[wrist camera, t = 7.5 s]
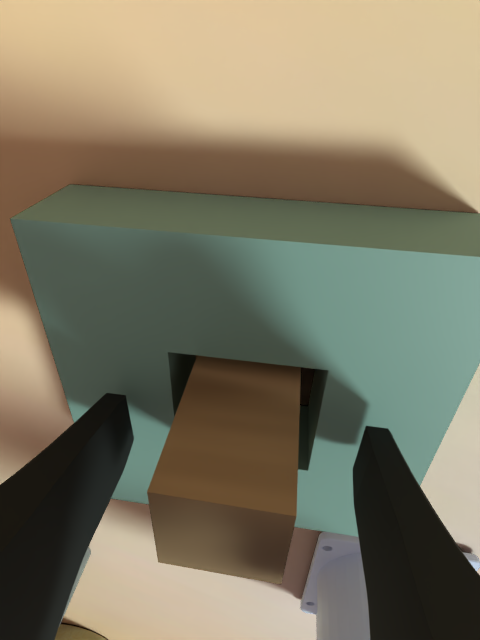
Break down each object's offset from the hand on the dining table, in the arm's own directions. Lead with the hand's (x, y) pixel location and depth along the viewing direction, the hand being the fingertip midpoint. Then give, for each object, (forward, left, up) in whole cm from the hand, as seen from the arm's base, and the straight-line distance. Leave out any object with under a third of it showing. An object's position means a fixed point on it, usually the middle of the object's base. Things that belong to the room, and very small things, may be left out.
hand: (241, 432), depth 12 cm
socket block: (0, 0, -4) cm, 4 cm away
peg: (0, 0, -4) cm, 4 cm away
